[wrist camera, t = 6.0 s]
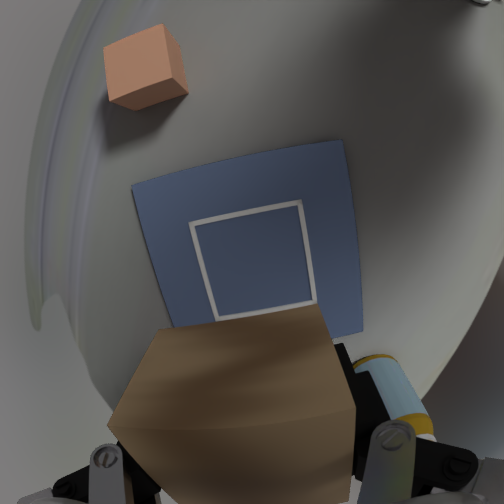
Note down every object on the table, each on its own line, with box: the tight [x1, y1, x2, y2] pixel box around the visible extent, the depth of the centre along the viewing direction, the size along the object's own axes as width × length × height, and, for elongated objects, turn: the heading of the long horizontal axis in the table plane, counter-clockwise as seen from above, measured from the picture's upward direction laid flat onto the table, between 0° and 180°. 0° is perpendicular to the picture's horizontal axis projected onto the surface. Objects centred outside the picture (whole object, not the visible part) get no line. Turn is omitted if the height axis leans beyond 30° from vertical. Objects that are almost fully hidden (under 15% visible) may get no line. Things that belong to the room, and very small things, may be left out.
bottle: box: [353, 354, 436, 442], centre depth 22 cm, size 7×7×15 cm
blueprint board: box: [131, 139, 363, 339], centre depth 25 cm, size 18×18×1 cm
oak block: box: [107, 303, 356, 504], centre depth 9 cm, size 6×6×5 cm
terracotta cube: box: [103, 23, 189, 111], centre depth 18 cm, size 5×5×5 cm
